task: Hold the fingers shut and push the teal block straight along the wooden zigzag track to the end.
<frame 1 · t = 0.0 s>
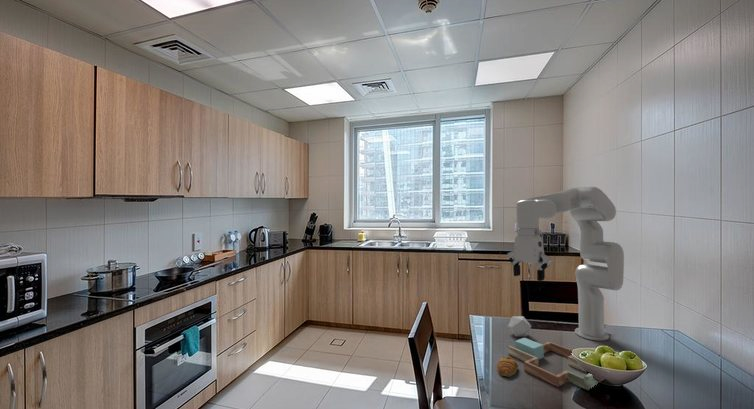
hand: (528, 278, 118), 31 cm above the table, fingers open, 9 cm apart
teal block: (529, 355, 122), on the table
die: (519, 335, 141), on the table
pastry: (507, 371, 111), on the table
wooden zigzag track: (551, 365, 114), on the table
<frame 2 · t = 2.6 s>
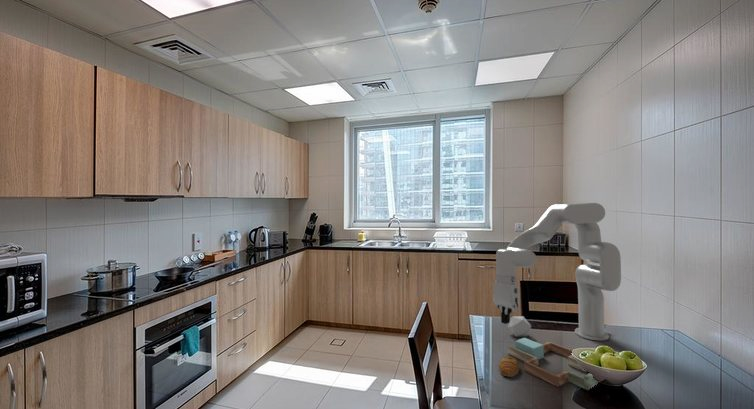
hand: (505, 322, 131), 10 cm above the table, fingers closed
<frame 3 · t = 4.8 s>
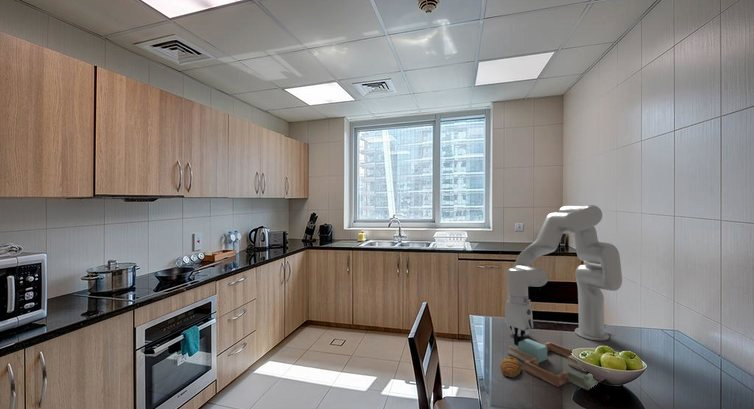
hand: (518, 344, 126), 2 cm above the table, fingers closed
teal block: (532, 357, 121), on the table
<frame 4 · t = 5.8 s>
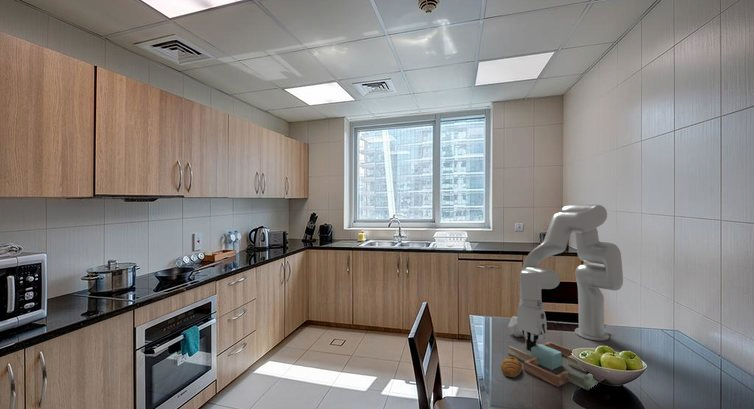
hand: (531, 349, 121), 2 cm above the table, fingers closed
teal block: (546, 363, 116), on the table, touching gripper
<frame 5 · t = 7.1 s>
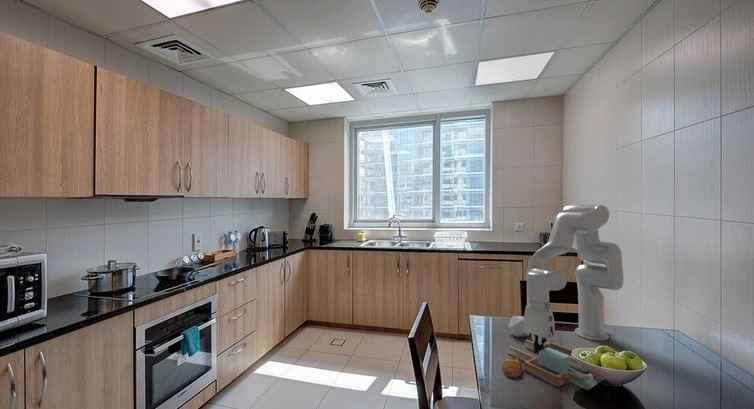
hand: (538, 352, 119), 2 cm above the table, fingers closed
teal block: (554, 367, 113), on the table
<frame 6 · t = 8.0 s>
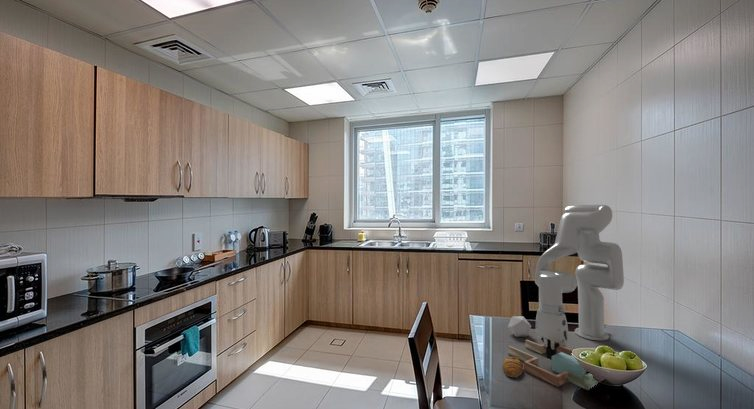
hand: (551, 358, 114), 2 cm above the table, fingers closed
teal block: (568, 373, 109), on the table, touching gripper
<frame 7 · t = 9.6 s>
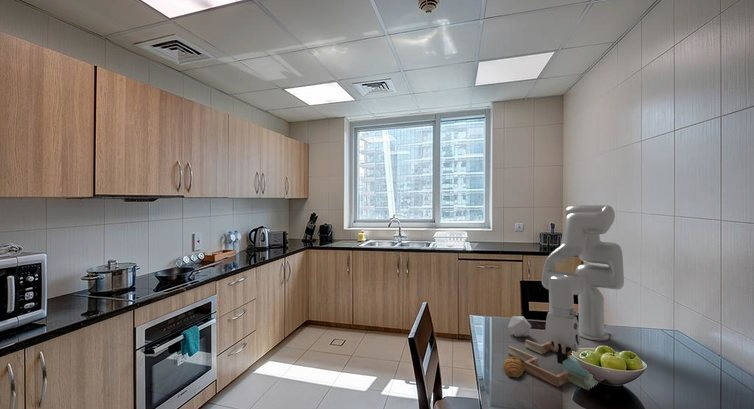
hand: (562, 362, 111), 2 cm above the table, fingers closed
teal block: (580, 378, 105), on the table
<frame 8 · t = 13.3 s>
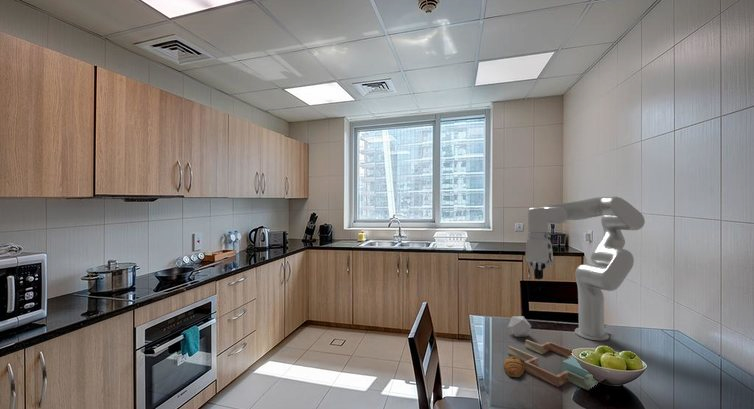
hand: (538, 278, 134), 27 cm above the table, fingers closed
at the end: teal block inside the target area (0.7 cm from its centre), on the table; teal block moved 19.0 cm from its start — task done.
